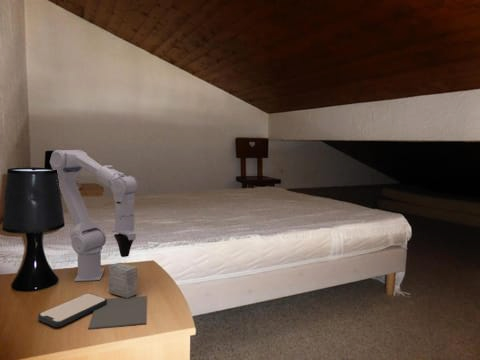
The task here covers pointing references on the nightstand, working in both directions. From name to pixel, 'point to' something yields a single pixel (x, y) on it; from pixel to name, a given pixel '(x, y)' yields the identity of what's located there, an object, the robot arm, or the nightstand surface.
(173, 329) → the nightstand surface
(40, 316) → the phone case
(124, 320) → the mat
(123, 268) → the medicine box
